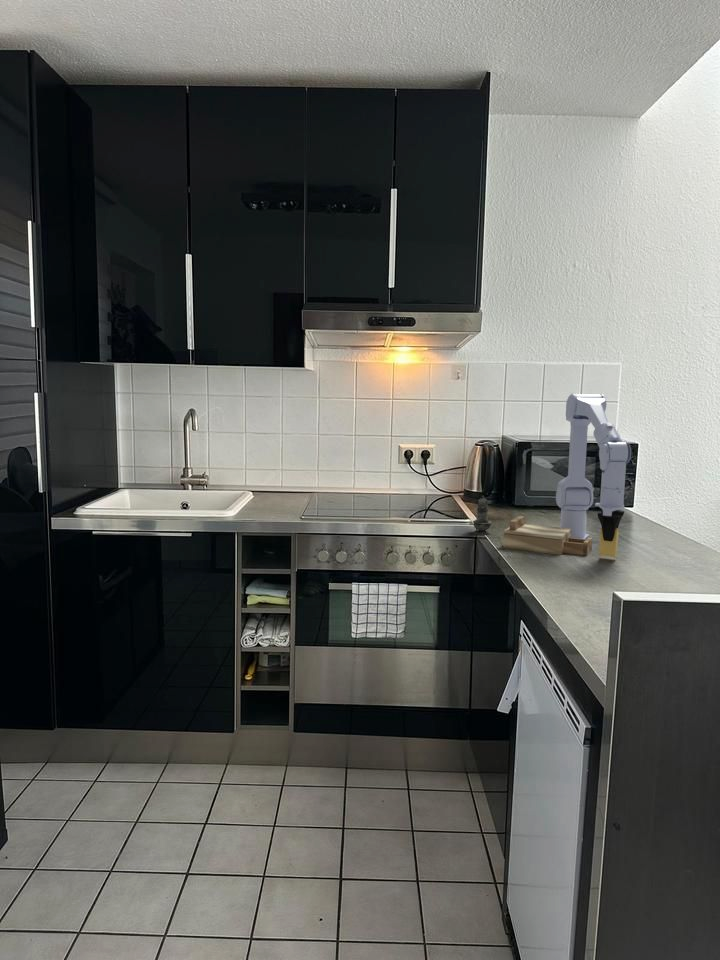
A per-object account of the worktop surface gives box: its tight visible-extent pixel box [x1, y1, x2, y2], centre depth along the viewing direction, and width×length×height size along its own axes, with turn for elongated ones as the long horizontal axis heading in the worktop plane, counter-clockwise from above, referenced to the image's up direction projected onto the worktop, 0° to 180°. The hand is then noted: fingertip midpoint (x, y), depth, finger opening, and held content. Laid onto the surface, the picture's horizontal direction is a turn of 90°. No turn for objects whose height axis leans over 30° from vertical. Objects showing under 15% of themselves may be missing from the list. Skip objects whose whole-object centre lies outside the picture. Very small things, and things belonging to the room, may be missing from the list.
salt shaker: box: [472, 495, 492, 536], centre depth 204 cm, size 6×6×12 cm
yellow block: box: [598, 527, 620, 558], centre depth 171 cm, size 4×4×7 cm
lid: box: [503, 515, 572, 540], centre depth 186 cm, size 13×16×3 cm
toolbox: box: [502, 532, 593, 556], centre depth 185 cm, size 13×22×4 cm, turn 61°
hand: (609, 539), depth 171 cm, fingers closed on yellow block, 4 cm apart
